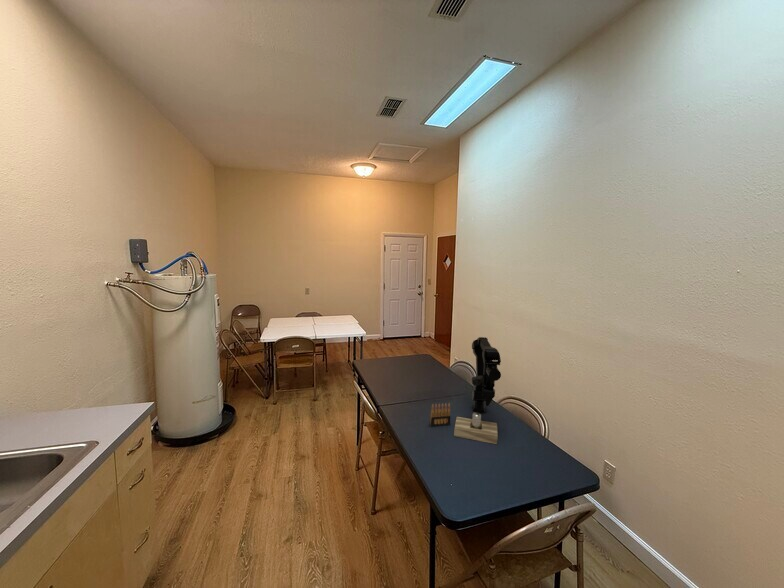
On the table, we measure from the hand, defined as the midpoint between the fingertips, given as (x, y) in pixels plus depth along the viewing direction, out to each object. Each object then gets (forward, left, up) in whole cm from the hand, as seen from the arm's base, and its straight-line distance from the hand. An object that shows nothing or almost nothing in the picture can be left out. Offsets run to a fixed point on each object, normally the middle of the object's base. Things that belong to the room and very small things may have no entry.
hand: (487, 401), depth 165 cm
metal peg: (+10, -5, -13) cm, 17 cm away
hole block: (+10, -5, -13) cm, 17 cm away
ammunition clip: (+8, -23, -13) cm, 27 cm away
